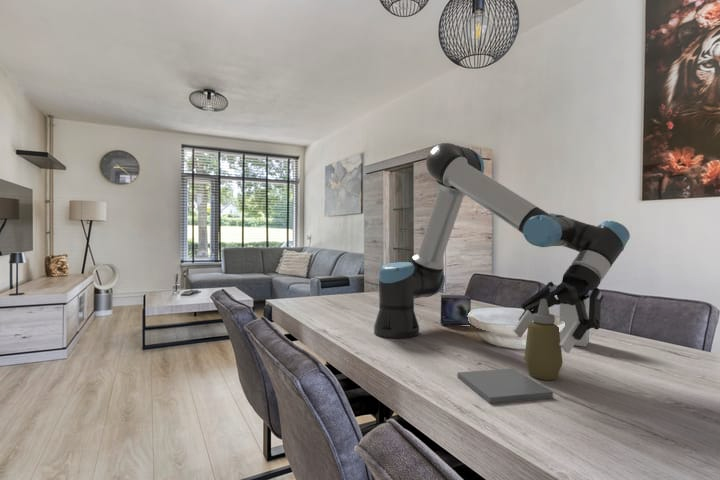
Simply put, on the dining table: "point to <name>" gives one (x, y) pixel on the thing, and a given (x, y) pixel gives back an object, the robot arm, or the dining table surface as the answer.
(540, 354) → the squeeze bottle
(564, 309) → the milk carton
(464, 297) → the small box
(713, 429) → the dining table surface
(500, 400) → the slate trivet
